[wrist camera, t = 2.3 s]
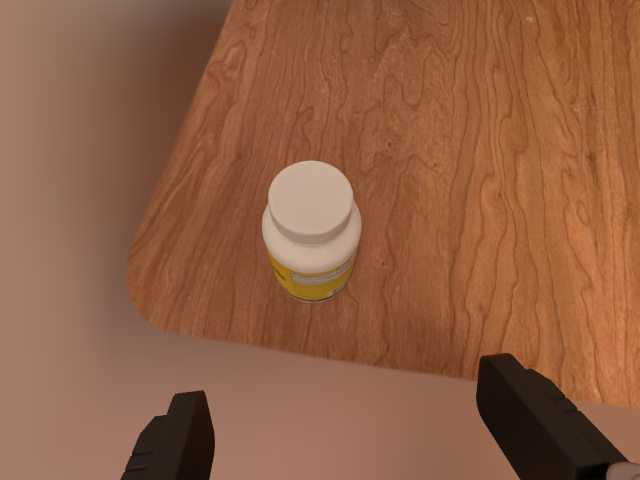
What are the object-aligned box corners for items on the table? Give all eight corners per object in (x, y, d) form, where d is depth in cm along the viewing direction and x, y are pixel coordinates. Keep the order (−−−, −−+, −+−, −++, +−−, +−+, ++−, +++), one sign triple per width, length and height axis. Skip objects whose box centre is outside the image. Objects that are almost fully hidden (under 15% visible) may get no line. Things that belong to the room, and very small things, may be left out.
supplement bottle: (274, 234, 27) (254, 148, 18) (348, 231, 27) (364, 145, 18) (273, 307, 25) (251, 249, 16) (354, 303, 25) (376, 245, 16)
